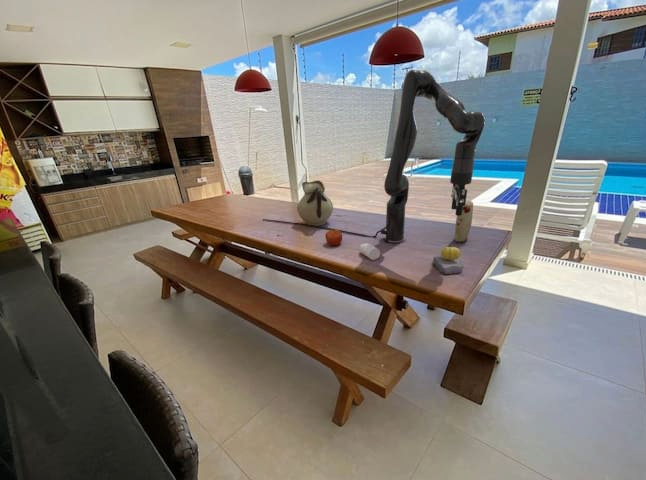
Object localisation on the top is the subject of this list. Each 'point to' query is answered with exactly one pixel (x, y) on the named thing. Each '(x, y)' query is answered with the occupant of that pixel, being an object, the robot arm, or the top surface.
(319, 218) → the cream drawstring sack
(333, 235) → the tomato
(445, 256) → the lemon
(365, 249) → the roll
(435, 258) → the stone block
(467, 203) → the food model
